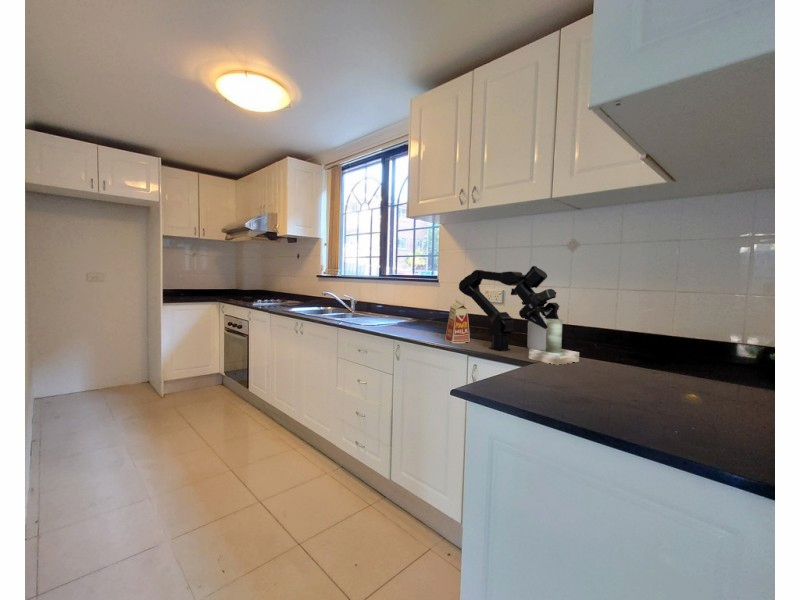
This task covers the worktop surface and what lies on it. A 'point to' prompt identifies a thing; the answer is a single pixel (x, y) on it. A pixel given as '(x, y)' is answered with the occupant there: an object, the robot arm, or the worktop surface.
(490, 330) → the robot arm
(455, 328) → the milk carton
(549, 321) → the pale green cylinder
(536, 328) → the pill bottle
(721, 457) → the worktop surface
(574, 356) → the mottled cream slab
